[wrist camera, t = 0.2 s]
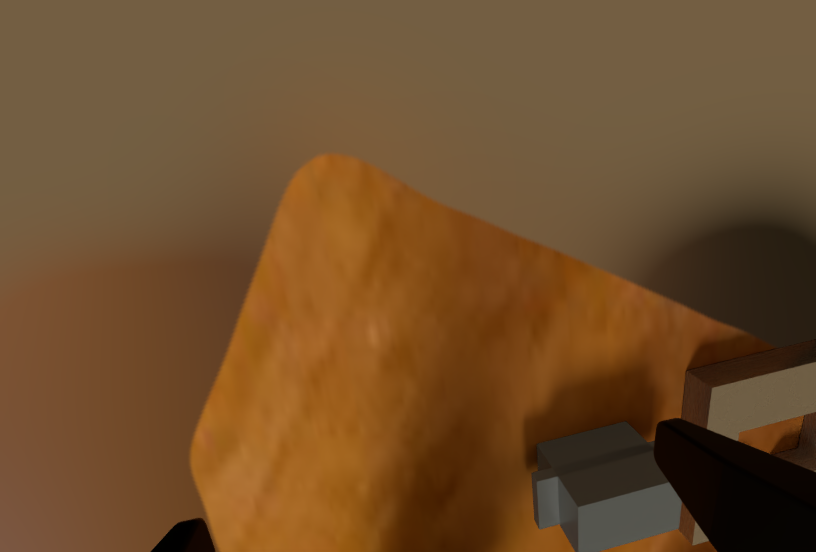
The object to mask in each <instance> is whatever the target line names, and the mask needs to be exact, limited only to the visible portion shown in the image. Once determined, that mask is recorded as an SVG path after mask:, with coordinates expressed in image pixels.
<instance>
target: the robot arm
mask: <svg viewBox="0 0 816 552" xmlns="http://www.w3.org/2000/svg"><path fill="white" fill-rule="evenodd" d="M653 454H654V459H655V461H656V464H657V465H658V467H659V469H660V470H661V472H662V473H663V474H664V476H665V477H666V479H667V480H668V482H669V483H670V485H671V486H672V488H673V489H674V491H675V492H676V494H677V495H678V496H679V498H680V499H681V501H682V502H683V504H684V505H685V507H686V508H687V510H688V511H689V513H690V514H691V516H692V517H693V518H694V520H695V521H696V523H697V524H698V526H699V527H700V529H701V530H702V531H703V533H704V534H705V536H706V537H707V538H708V540H709V541H710V542H711V544H712V545H713V546H714V548H715V549H716V550H717V551H718V552H816V472H814V471H812V470H809V469H807V468H804V467H802V466H799V465H797V464H794V463H792V462H789V461H787V460H784V459H782V458H779V457H777V456H774V455H772V454H769V453H766V452H764V451H761V450H759V449H756V448H754V447H751V446H749V445H746V444H744V443H741V442H739V441H736V440H734V439H731V438H729V437H726V436H724V435H721V434H719V433H716V432H713V431H711V430H708V429H706V428H703V427H701V426H698V425H696V424H693V423H691V422H688V421H686V420H683V419H680V418H673V419H669V420H664V421H660V422H659V423H658V424H657V427H656V434H655V442H654V450H653ZM151 552H215V548H214V545H213V542H212V539H211V536H210V533H209V531H208V528H207V525H206V523H205V521H204V520H203V519H202V518H195V519H191V520H186V521H181V522H179V523H177V524H176V525H175V526H174V527H173V528H172V529H171V530H170V531H169V532H168V533H167V534H166V535H165V536H164V538H163V539H162V540H161V541H160V542H159V543H158V544H157V545H156V546H155V547H154V549H153V550H152V551H151Z"/></svg>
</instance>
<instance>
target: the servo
mask: <svg viewBox="0 0 816 552" xmlns="http://www.w3.org/2000/svg"><path fill="white" fill-rule="evenodd" d="M654 442H655V441H652V442H647V441H646V440H645V439H644V438H643V437H642V436H641V435H640V434H639V433H638V432H636V431H635V430H634V429H633V428H632V427H631V426H630V425H629V424H628V423H627V422H626V421H625V422H621V423H617V424H613V425H609V426H605V427H601V428H597V429H594V430H590V431H586V432H582V433H578V434H574V435H570V436H566V437H562V438H558V439H554V440H550V441H546V442H542V443H538V444H537V460H538V471H537V472H533V473H532V489H533V505H534V520H535V522H536V524H537V526H538V528H539V529H543V528H547V527H550V526H554V525H558V524H560V526H561V528H562V529H563V531H564V533H565V535H566V536H567V538H568V540H569V542H570V543H571V545H572V547H573V549H574V550H575V552H599V551H602V550H606V549H609V548H613V547H616V546H620V545H623V544H627V543H630V542H634V541H637V540H641V539H644V538H648V537H651V536H655V535H658V534H661V533H665V532H668V531H672V530H675V529H679V523H680V514H681V504H682V501H681V499H680V498H679V496H678V495H677V494H676V492H675V491H674V489H673V488H672V486H671V485H670V483H669V482H668V480H667V479H666V477H665V476H664V474H663V473H662V472H661V470H660V469H659V467H658V465H657V464H656V461H655V459H654V454H653V450H654Z"/></svg>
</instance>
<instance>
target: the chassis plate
mask: <svg viewBox="0 0 816 552" xmlns="http://www.w3.org/2000/svg"><path fill="white" fill-rule="evenodd" d="M802 415H805V417H804V422H803V426H802V431H801V435H800V439H799V444H798V448H795V449H792V450H788V451H784V452H781V453H777V454H773V455H774V456H777V457H779V458H782V459H784V460H787V461H789V462H792V463H794V464H797V465H799V466H802V467H804V468H807V469H809V470H812V471H814V472H816V339H815V340H811V341H806V342H802V343H799V344H794V345H790V346H786V347H782V348H778V349H774V350H770V351H765V352H761V353H757V354H753V355H749V356H745V357H741V358H737V359H733V360H729V361H724V362H720V363H716V364H712V365H708V366H704V367H700V368H696V369H692V370H688V371H686V379H685V389H684V399H683V409H682V419H683V420H686V421H688V422H691V423H693V424H696V425H698V426H701V427H703V428H706V429H708V430H711V431H713V432H716V433H719V434H721V435H724V436H726V437H729V438H731V439H734V440H736V441H738V437H739V432H742V431H746V430H749V429H753V428H757V427H761V426H764V425H768V424H772V423H776V422H780V421H783V420H787V419H791V418H795V417H798V416H802ZM678 530H679V531H680V532H681V533H682V534H683V535H684V537H685V538H686V539H687V540H688V541H689V542H690V543H691V545H692V546H693V545H696V544H699V543H703V542H706V541H709V540H708V538H707V537H706V536H705V534H704V533H703V531H702V530H701V529H700V527H699V526H698V524H697V523H696V521H695V520H694V518H693V517H692V516H691V514H690V513H689V511H688V510H687V508H686V507H685V505H684V504H683V502H682V504H681V514H680V523H679V529H678Z"/></svg>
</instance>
